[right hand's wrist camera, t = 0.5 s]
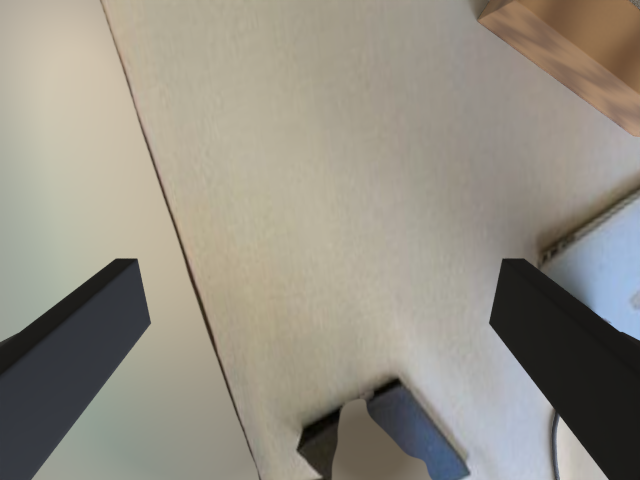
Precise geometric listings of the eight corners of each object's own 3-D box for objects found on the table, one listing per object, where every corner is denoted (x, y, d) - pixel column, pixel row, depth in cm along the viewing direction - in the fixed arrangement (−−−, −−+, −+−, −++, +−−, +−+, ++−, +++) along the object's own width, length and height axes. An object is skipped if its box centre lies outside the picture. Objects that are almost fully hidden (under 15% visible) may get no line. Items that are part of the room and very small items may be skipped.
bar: (476, 20, 43) (515, -1, 34) (506, -27, 41) (555, -62, 33) (633, 136, 48) (701, 142, 39) (666, 98, 46) (744, 96, 38)
